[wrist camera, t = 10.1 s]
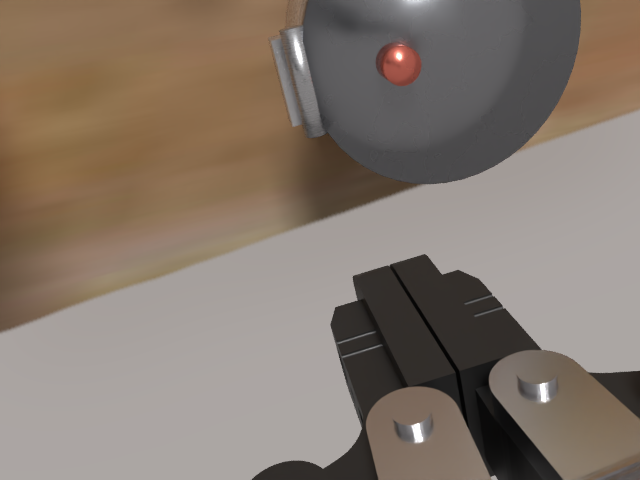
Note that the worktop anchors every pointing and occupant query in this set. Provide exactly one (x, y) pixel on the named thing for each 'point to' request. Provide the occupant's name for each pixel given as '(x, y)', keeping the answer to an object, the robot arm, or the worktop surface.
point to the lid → (430, 79)
